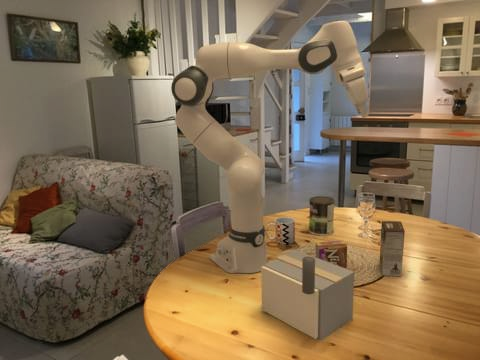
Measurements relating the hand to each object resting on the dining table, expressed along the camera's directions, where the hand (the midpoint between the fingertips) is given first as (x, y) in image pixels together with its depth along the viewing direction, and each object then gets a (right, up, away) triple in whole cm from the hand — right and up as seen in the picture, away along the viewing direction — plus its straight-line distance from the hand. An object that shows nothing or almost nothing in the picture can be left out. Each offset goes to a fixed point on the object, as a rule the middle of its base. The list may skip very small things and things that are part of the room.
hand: (363, 115), depth 131 cm
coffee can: (-4, -42, +48) cm, 64 cm away
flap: (-26, -58, -20) cm, 67 cm away
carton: (-20, -58, -14) cm, 62 cm away
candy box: (-10, -54, -1) cm, 55 cm away
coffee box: (+12, -51, +11) cm, 53 cm away
